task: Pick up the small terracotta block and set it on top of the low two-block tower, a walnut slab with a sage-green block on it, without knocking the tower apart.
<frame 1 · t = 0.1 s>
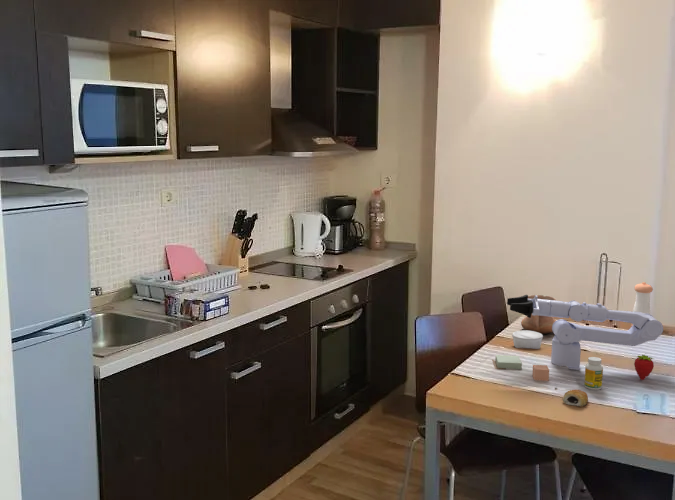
hand: (508, 304, 242), 22 cm above the table, tool horizontal, fingers open, 7 cm apart
supplement bottle: (592, 387, 224), on the table
tower base: (507, 370, 241), on the table
ceramic jug: (538, 332, 285), on the table
tower top: (508, 364, 241), point 1 cm above the table
pastry: (575, 402, 212), on the table
terracotta block: (540, 381, 228), on the table
ramekin: (526, 348, 264), on the table
strawberry: (642, 380, 230), on the table
pepper shaker: (640, 327, 294), on the table
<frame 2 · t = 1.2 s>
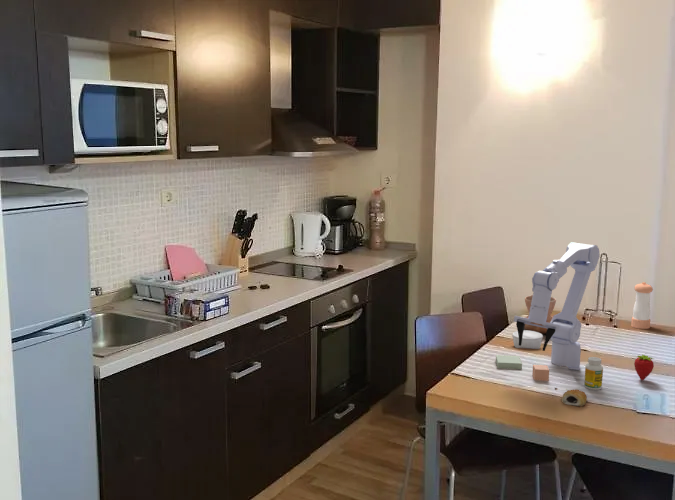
hand: (531, 348, 228), 11 cm above the table, tool tilted 15°, fingers open, 7 cm apart
tower base: (507, 370, 241), on the table, touching tower top
tower top: (508, 364, 241), point 1 cm above the table, touching tower base
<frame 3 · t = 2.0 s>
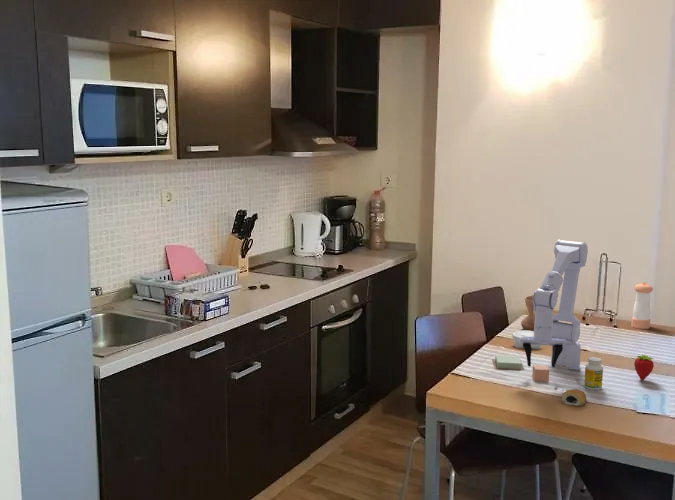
hand: (541, 366, 227), 5 cm above the table, tool pointing down, fingers open, 7 cm apart
nothing on the table moved.
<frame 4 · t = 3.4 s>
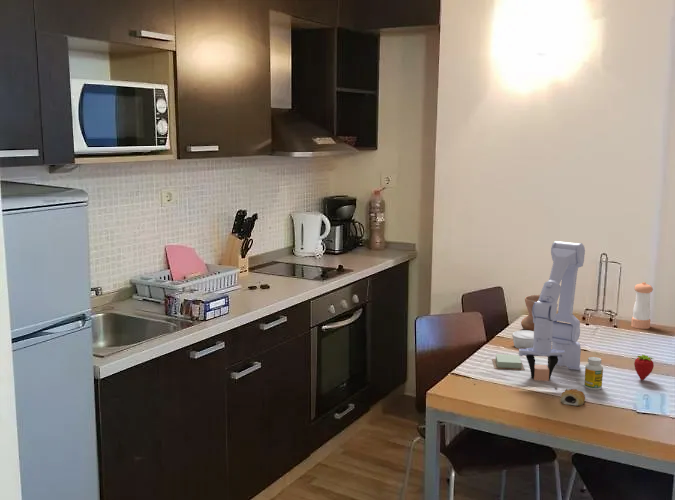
hand: (540, 377, 228), 1 cm above the table, tool pointing down, fingers closed on terracotta block, 4 cm apart
terracotta block: (540, 381, 228), on the table, touching gripper
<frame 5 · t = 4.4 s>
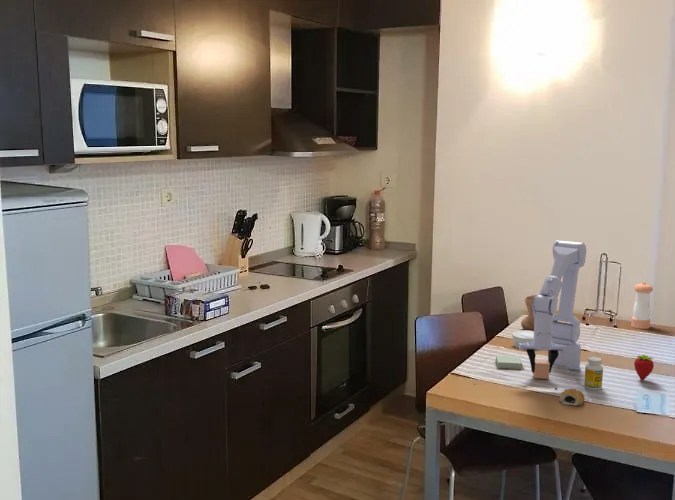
hand: (540, 371, 228), 3 cm above the table, tool pointing down, fingers closed on terracotta block, 4 cm apart
tower base: (507, 370, 241), on the table
tower top: (508, 364, 241), point 1 cm above the table
terracotta block: (540, 375, 228), point 2 cm above the table, touching gripper
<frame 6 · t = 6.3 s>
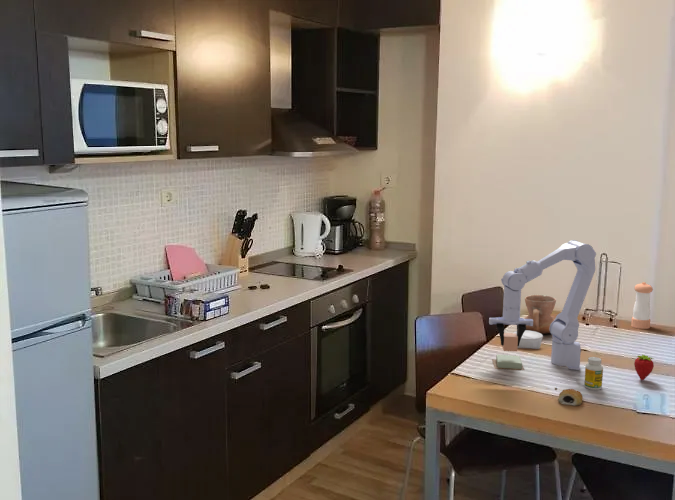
hand: (509, 345, 239), 8 cm above the table, tool pointing down, fingers closed on terracotta block, 4 cm apart
tower base: (507, 370, 241), on the table, touching tower top
tower top: (508, 364, 241), point 1 cm above the table, touching tower base
terracotta block: (509, 349, 240), point 7 cm above the table, touching gripper
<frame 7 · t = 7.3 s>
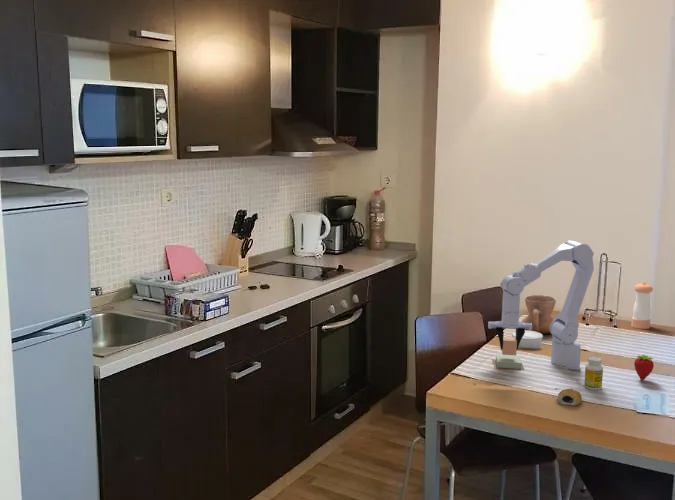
hand: (508, 348, 240), 7 cm above the table, tool pointing down, fingers closed on terracotta block, 4 cm apart
terracotta block: (508, 352, 240), point 5 cm above the table, touching gripper
when the fingers open (7 cm above the table, at t = 7.6 s): terracotta block drops 2 cm, point 3 cm above the table.
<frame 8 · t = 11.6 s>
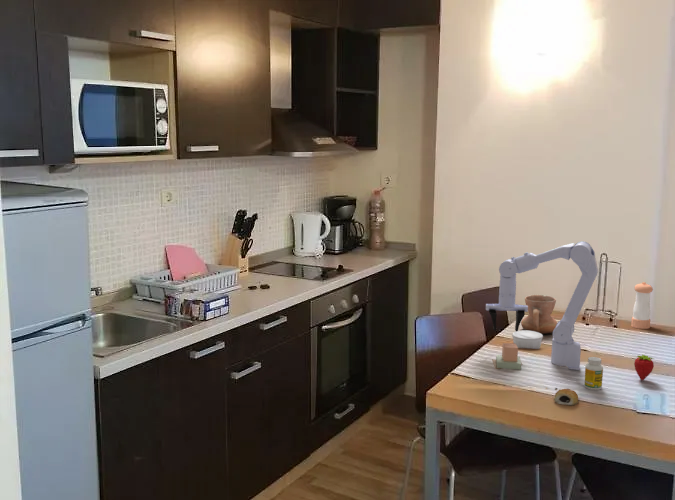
hand: (505, 330, 250), 10 cm above the table, tool pointing down, fingers open, 7 cm apart
tower base: (507, 370, 241), on the table
tower top: (508, 364, 241), point 1 cm above the table
terracotta block: (509, 359, 240), point 3 cm above the table
at the end: terracotta block 0.3 cm off-centre on the tower top, point 2.1 cm above the tower top's base; terracotta block tilted 1°; tower top moved 0.8 cm from its start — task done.
